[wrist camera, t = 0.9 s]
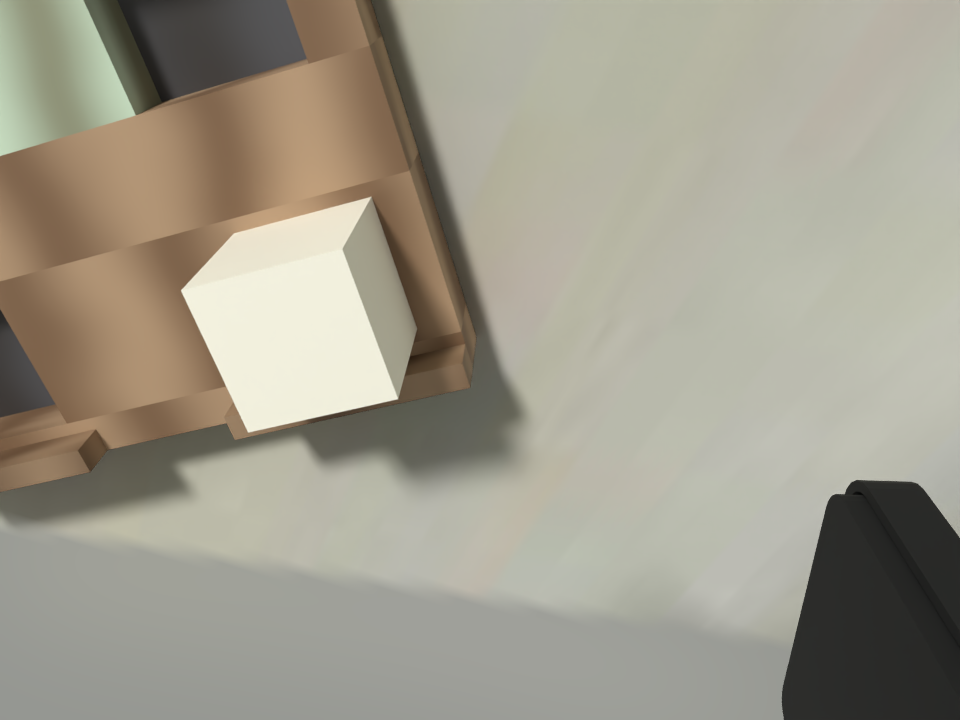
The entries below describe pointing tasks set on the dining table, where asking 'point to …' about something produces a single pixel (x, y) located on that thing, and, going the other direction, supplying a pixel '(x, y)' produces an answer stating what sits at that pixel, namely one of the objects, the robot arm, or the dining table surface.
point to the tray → (184, 205)
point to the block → (305, 316)
